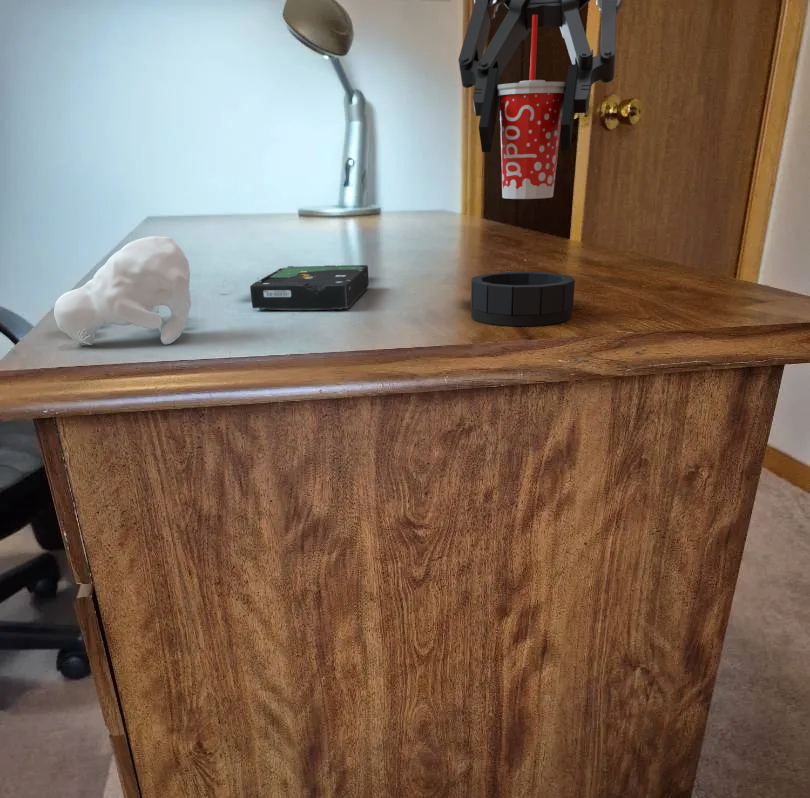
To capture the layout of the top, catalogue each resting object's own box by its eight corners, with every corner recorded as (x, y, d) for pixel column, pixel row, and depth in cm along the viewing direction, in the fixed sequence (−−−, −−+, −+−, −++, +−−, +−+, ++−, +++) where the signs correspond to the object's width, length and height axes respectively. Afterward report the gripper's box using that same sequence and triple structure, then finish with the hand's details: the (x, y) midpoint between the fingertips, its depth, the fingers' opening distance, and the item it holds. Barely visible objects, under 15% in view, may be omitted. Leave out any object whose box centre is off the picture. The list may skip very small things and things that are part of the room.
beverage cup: (480, 197, 73) (483, 18, 67) (531, 194, 76) (538, 21, 70) (523, 200, 68) (531, 7, 62) (575, 196, 71) (588, 11, 65)
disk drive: (350, 313, 81) (369, 287, 94) (348, 284, 80) (368, 262, 93) (251, 313, 82) (284, 288, 95) (248, 285, 81) (282, 263, 94)
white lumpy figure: (183, 235, 65) (30, 258, 62) (207, 339, 69) (64, 364, 66) (179, 229, 70) (39, 250, 68) (202, 325, 74) (69, 348, 72)
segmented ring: (592, 318, 75) (595, 280, 73) (508, 330, 71) (509, 290, 69) (531, 304, 82) (533, 268, 81) (452, 314, 78) (452, 277, 77)
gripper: (658, -25, 75) (638, 170, 68) (460, -11, 79) (423, 173, 73) (666, -111, 68) (645, 97, 61) (449, -90, 72) (407, 105, 66)
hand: (524, 138), depth 67 cm, fingers closed on beverage cup, 6 cm apart
